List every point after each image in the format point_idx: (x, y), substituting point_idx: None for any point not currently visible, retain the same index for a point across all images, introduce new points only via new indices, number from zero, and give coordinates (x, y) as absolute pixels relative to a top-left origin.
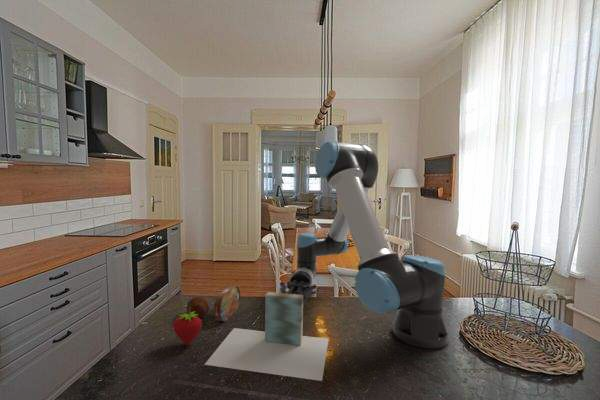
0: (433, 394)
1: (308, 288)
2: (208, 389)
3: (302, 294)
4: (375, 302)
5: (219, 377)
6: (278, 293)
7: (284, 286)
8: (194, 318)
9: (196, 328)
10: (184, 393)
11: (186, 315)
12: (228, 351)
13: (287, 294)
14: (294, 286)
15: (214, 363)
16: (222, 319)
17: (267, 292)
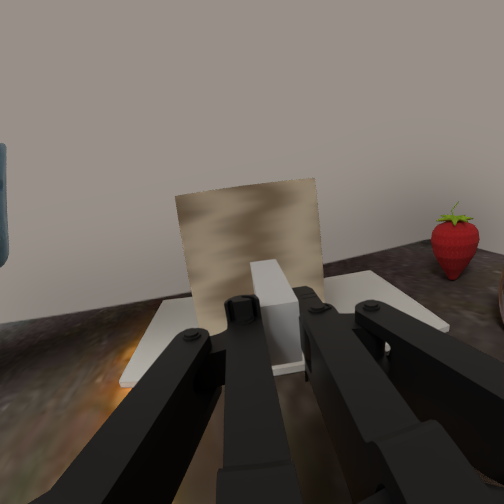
0: (29, 319)
1: (116, 453)
2: (325, 266)
3: (193, 330)
4: (7, 227)
5: (329, 274)
6: (270, 182)
7: (479, 374)
8: (446, 224)
9: (431, 239)
10: (345, 259)
11: (458, 217)
12: (366, 289)
13: (235, 187)
14: (367, 440)
15: (358, 274)
16: (500, 312)
17: (312, 178)
